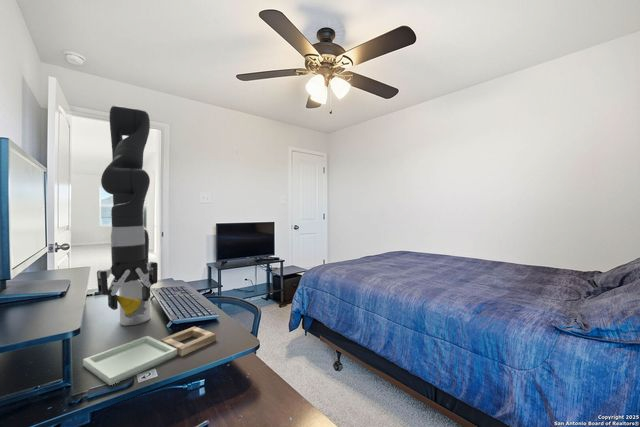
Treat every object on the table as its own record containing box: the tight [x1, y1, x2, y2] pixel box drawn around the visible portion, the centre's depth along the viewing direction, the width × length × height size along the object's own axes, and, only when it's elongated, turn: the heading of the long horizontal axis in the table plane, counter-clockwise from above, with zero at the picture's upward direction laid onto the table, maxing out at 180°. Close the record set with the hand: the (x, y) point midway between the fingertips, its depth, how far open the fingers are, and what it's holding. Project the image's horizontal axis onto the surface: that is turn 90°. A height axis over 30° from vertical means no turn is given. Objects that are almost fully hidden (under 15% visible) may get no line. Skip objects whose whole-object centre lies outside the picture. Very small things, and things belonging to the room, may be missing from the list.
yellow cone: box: [116, 294, 147, 318], centre depth 77 cm, size 5×5×10 cm
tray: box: [82, 335, 178, 386], centre depth 77 cm, size 16×16×2 cm
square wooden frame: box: [159, 326, 217, 357], centre depth 87 cm, size 11×11×2 cm
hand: (130, 304), depth 77 cm, fingers closed on yellow cone, 7 cm apart
